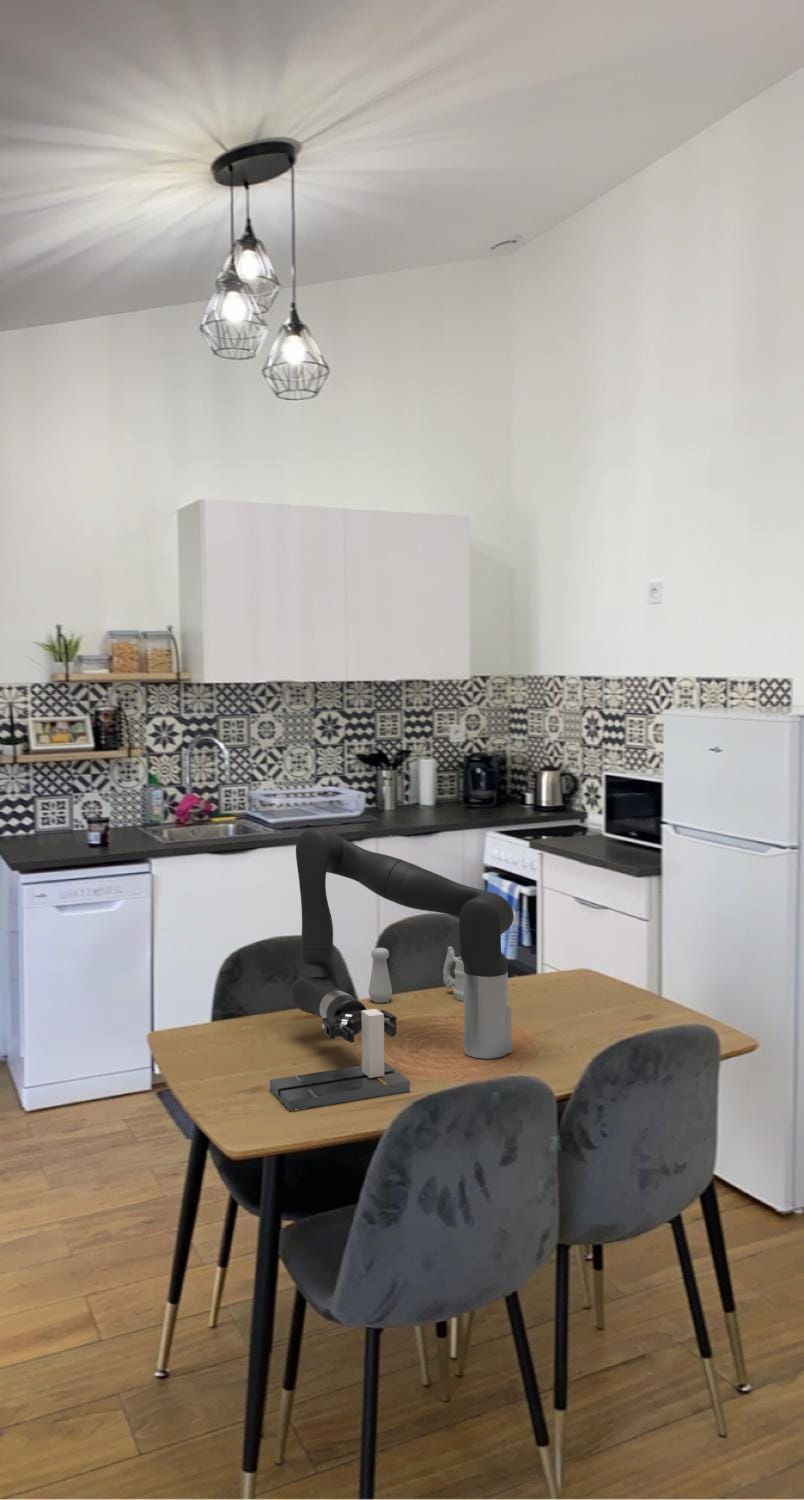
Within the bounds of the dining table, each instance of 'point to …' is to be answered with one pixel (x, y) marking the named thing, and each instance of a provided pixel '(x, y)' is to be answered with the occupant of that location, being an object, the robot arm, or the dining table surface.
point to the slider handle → (372, 1043)
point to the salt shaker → (380, 977)
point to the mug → (458, 974)
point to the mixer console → (336, 1087)
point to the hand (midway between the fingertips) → (373, 1034)
